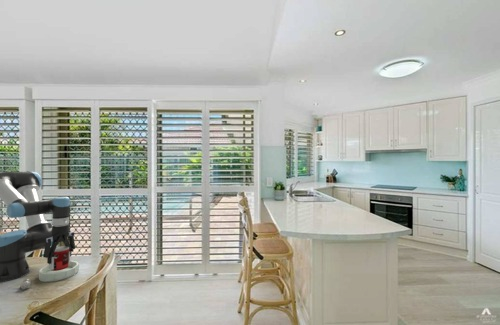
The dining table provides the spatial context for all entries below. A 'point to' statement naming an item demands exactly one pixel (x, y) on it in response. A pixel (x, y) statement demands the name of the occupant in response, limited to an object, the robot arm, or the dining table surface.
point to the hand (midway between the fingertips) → (59, 265)
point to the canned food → (61, 258)
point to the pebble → (25, 284)
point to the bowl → (58, 272)
